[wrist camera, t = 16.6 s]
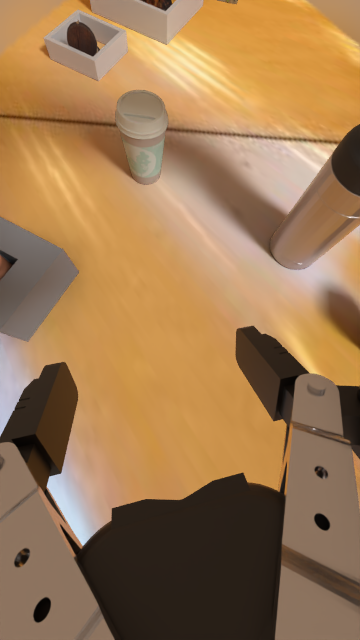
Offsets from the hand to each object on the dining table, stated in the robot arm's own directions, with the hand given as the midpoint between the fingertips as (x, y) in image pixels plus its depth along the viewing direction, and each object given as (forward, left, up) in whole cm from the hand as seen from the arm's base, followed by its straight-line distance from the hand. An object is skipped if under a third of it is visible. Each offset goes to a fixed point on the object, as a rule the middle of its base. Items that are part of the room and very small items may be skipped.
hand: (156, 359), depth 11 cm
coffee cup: (-34, -22, -27) cm, 49 cm away
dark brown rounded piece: (-57, -52, -27) cm, 82 cm away
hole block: (-2, -28, -27) cm, 39 cm away
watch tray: (-58, -51, -27) cm, 82 cm away
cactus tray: (-83, -49, -27) cm, 101 cm away
